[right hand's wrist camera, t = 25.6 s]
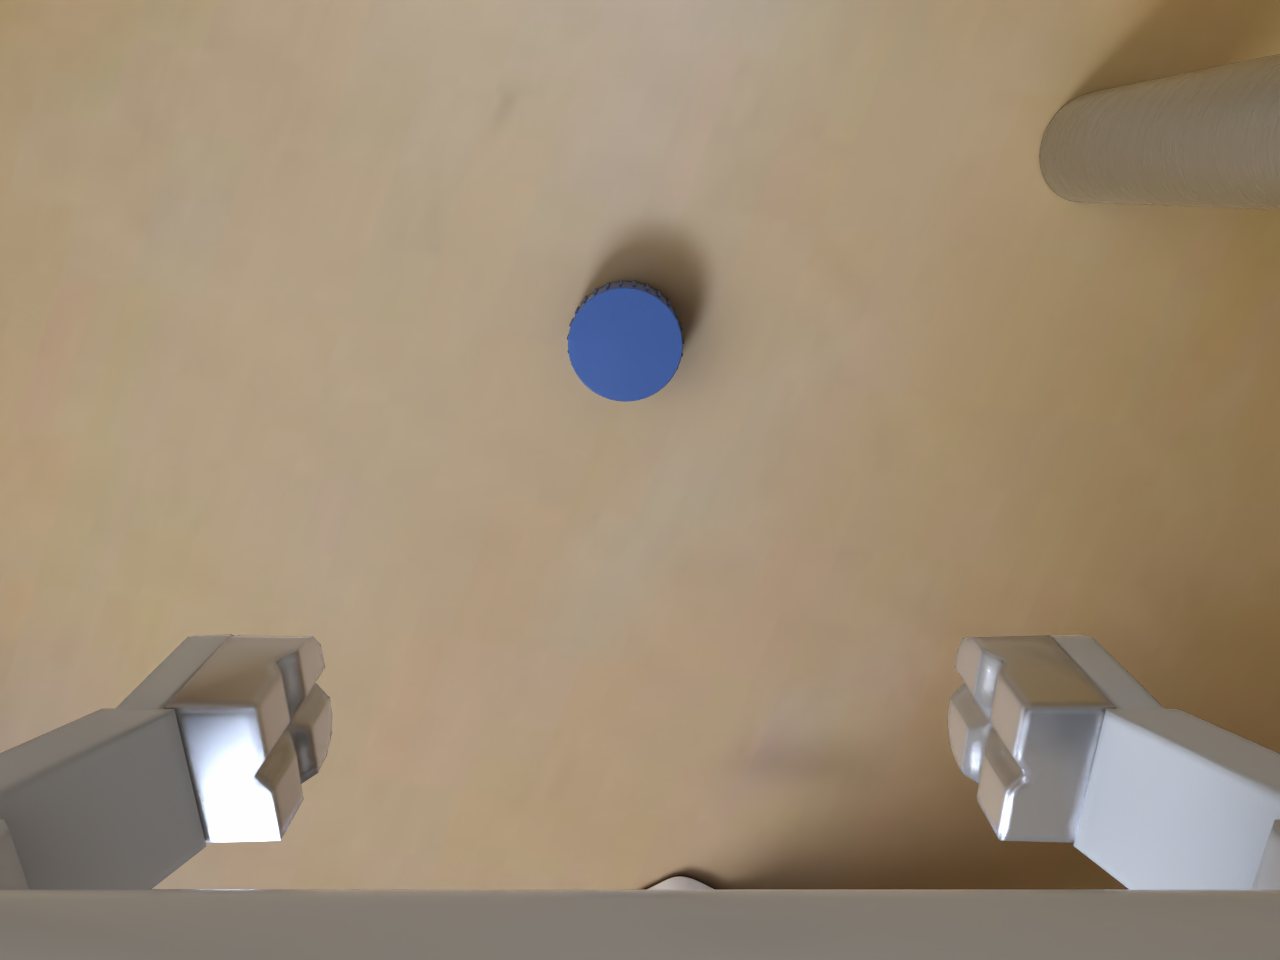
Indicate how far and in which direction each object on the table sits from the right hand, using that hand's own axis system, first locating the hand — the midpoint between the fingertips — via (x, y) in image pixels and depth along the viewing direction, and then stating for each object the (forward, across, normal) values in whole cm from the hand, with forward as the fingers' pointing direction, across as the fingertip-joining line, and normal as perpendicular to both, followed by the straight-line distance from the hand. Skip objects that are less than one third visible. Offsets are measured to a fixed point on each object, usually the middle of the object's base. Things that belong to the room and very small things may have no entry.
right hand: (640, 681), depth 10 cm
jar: (+27, +18, +7) cm, 33 cm away
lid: (+25, -1, 0) cm, 25 cm away
